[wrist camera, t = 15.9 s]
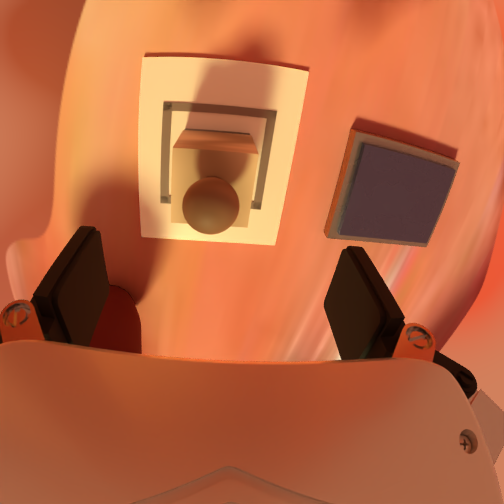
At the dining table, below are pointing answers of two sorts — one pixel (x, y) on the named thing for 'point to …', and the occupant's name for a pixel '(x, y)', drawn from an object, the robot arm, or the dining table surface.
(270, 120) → the card
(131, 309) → the mug
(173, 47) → the dining table surface
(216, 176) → the stamp
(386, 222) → the ink pad
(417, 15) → the dining table surface
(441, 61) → the dining table surface
